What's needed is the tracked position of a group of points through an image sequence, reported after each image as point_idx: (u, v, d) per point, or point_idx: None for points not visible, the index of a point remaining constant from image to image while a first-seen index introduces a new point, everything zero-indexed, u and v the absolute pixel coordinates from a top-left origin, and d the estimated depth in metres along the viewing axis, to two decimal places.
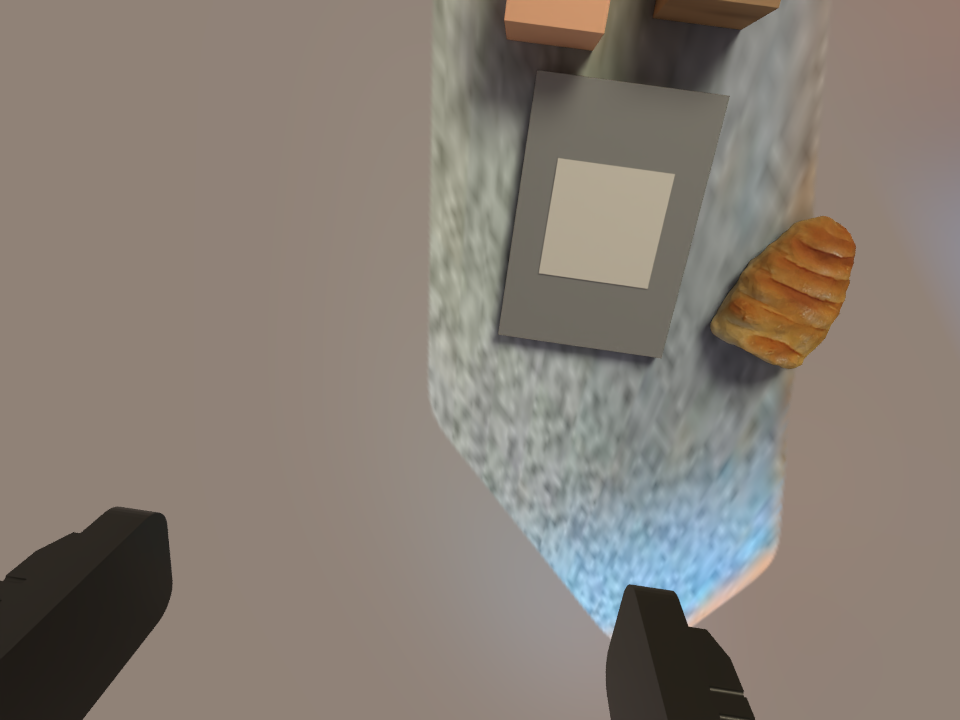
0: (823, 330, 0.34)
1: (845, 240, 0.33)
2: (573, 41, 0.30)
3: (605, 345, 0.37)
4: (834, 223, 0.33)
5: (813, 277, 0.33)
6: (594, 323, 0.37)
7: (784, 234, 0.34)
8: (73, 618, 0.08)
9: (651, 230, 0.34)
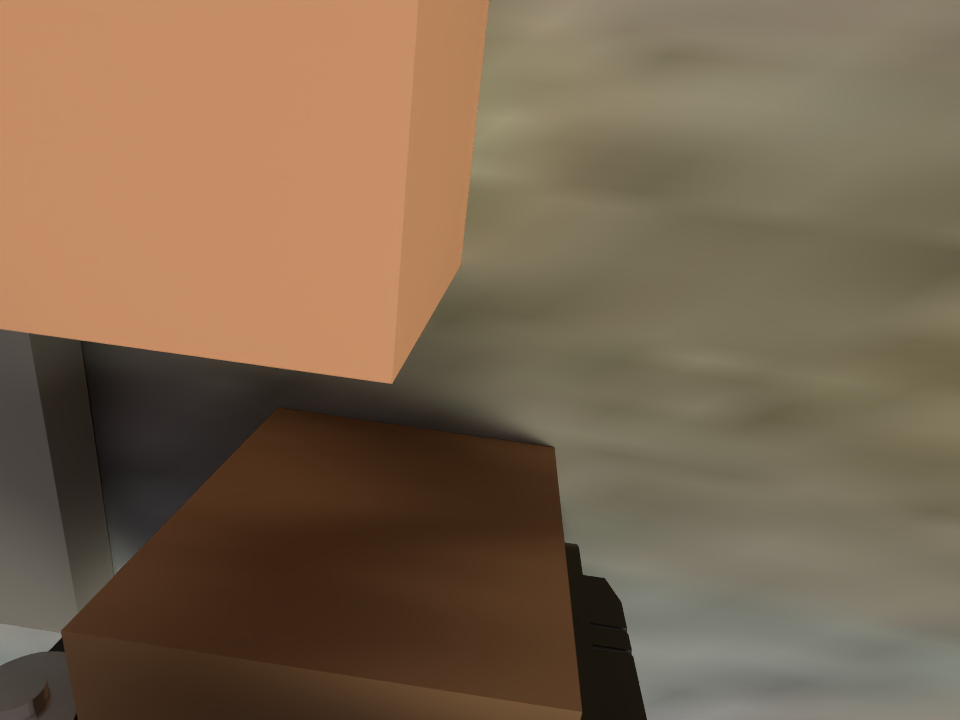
0: None
1: None
2: None
3: None
4: None
5: None
6: None
7: None
8: None
9: None
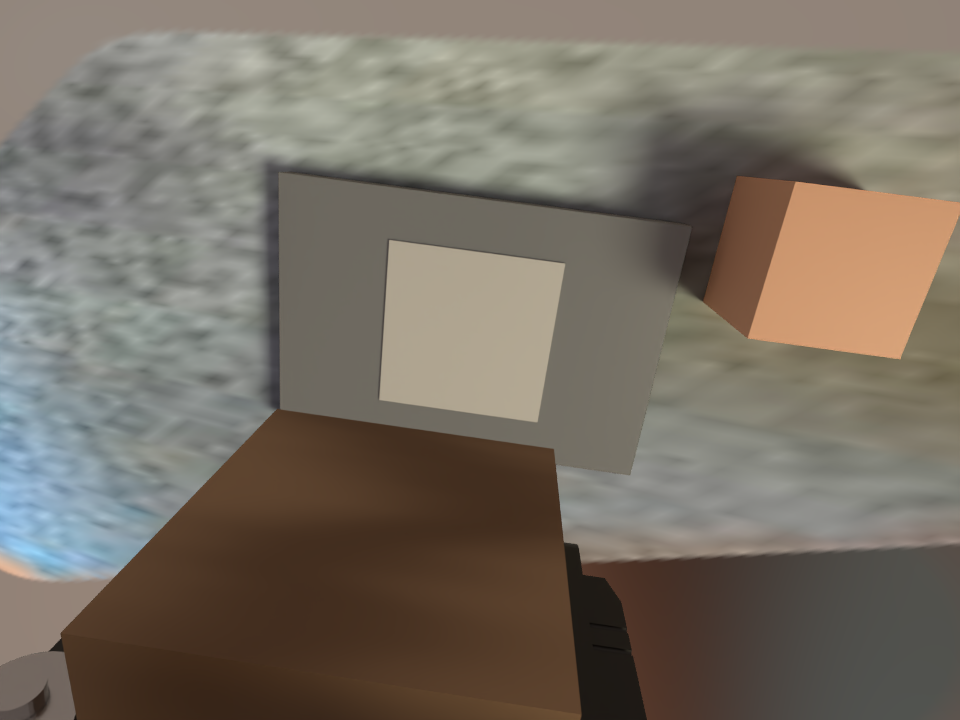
0: None
1: None
2: (727, 281, 0.21)
3: (286, 347, 0.24)
4: None
5: None
6: (318, 329, 0.24)
7: None
8: None
9: (462, 398, 0.24)
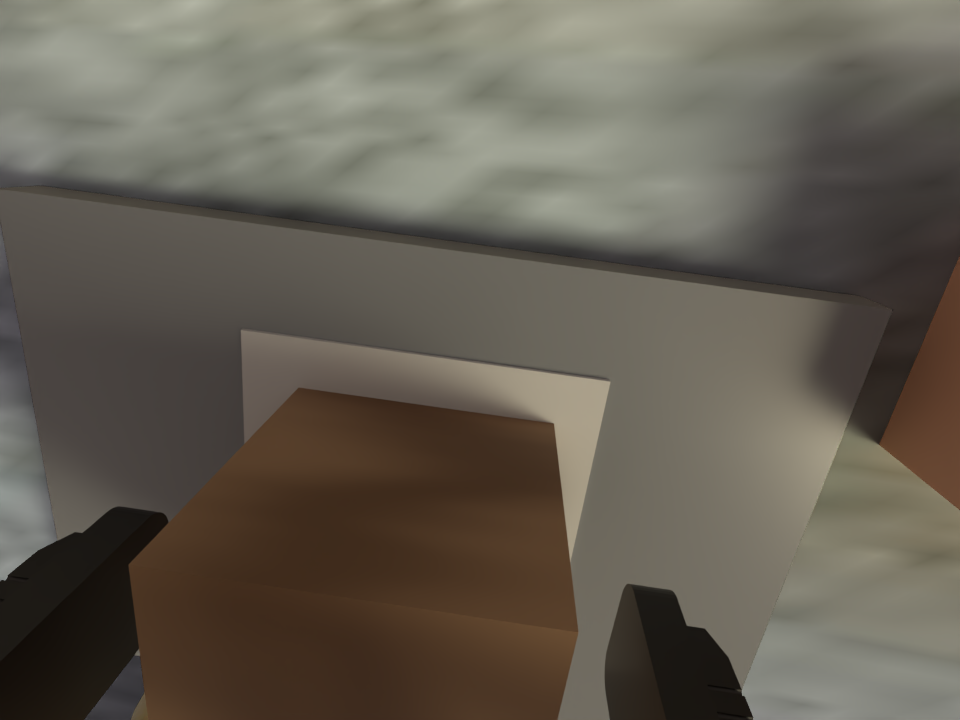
0: None
1: None
2: None
3: (67, 522, 0.13)
4: None
5: None
6: (122, 493, 0.12)
7: None
8: (75, 618, 0.08)
9: None
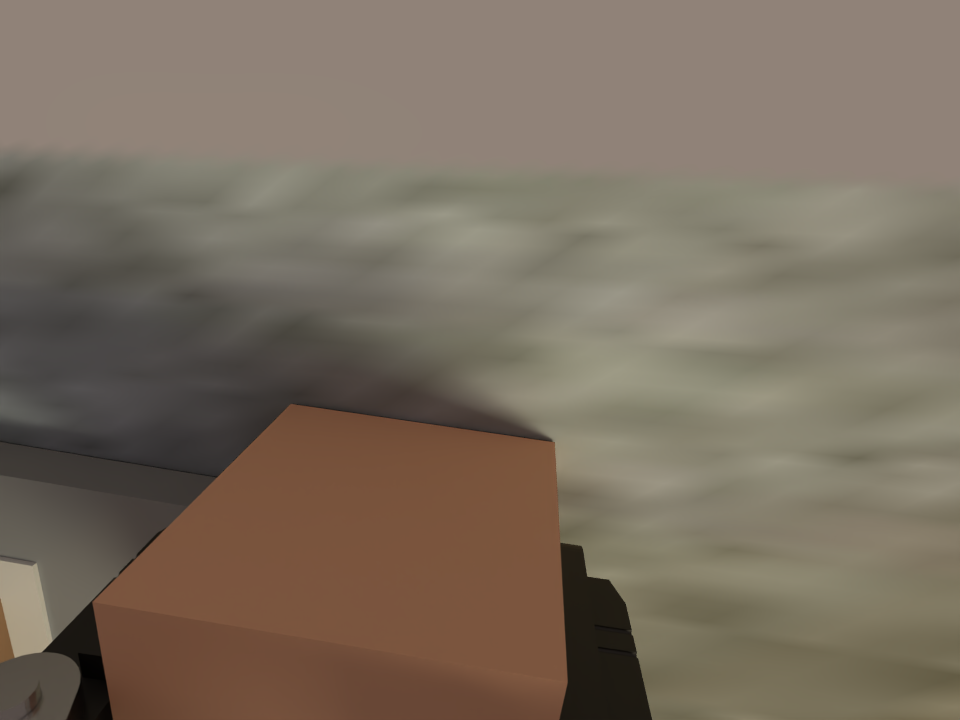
0: None
1: None
2: None
3: None
4: None
5: None
6: None
7: None
8: None
9: None
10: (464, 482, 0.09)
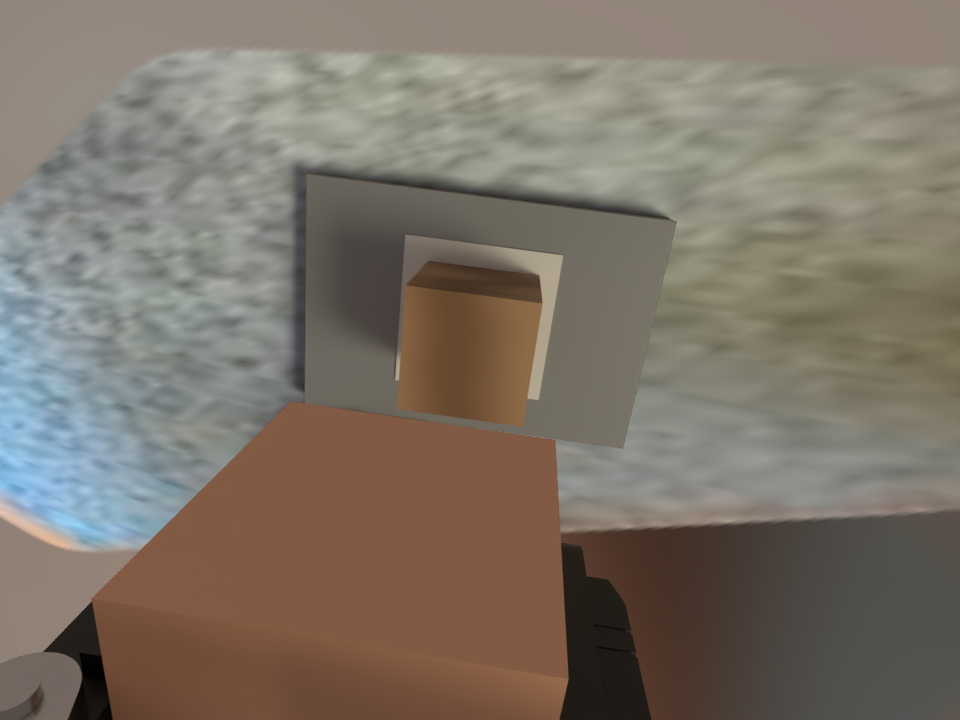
0: None
1: None
2: None
3: (311, 332, 0.27)
4: None
5: None
6: (340, 316, 0.26)
7: None
8: None
9: None
10: (464, 479, 0.09)
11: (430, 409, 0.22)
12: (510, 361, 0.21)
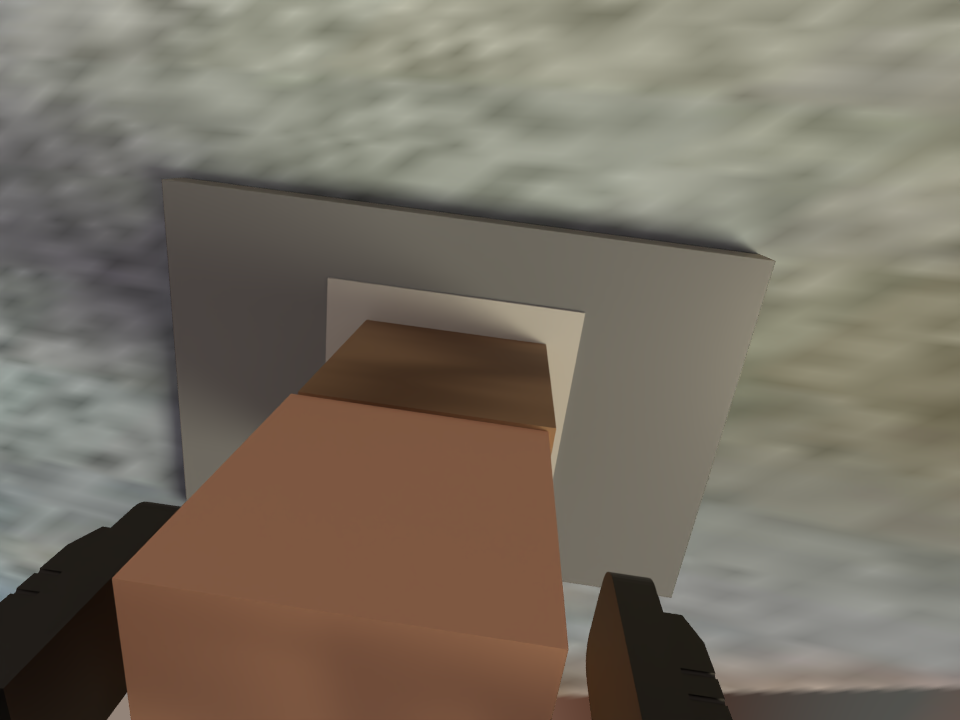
0: None
1: None
2: None
3: (190, 424, 0.17)
4: None
5: None
6: (233, 401, 0.17)
7: None
8: (108, 609, 0.08)
9: None
10: (463, 468, 0.09)
11: None
12: None
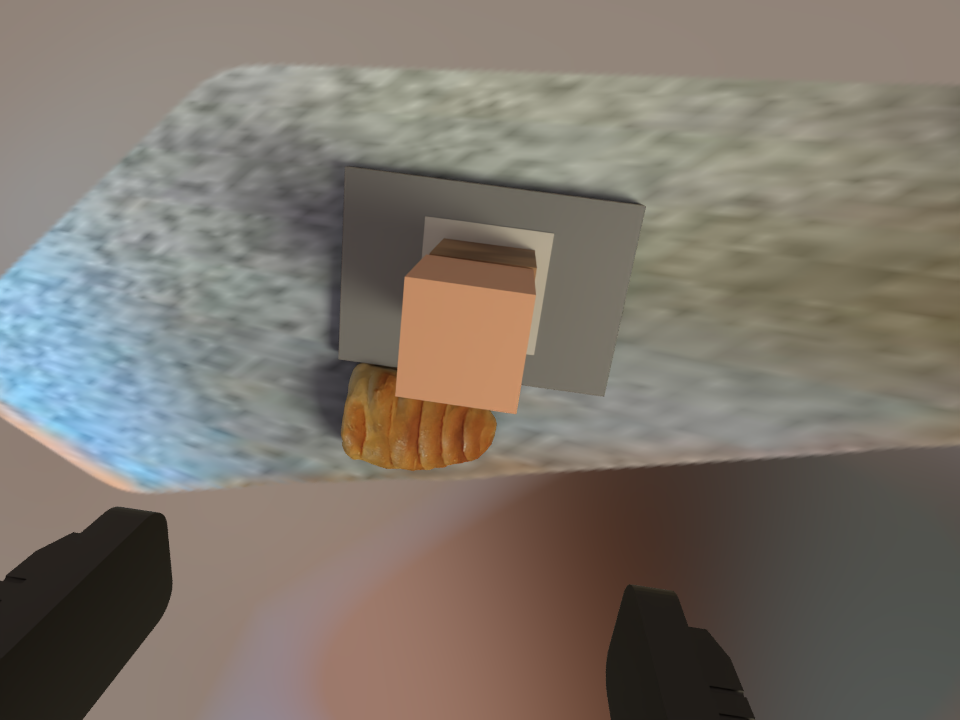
0: (391, 464, 0.34)
1: (479, 448, 0.34)
2: None
3: (346, 298, 0.32)
4: (492, 433, 0.34)
5: (436, 435, 0.33)
6: (370, 284, 0.32)
7: None
8: (73, 619, 0.08)
9: None
10: (500, 272, 0.24)
11: None
12: None
